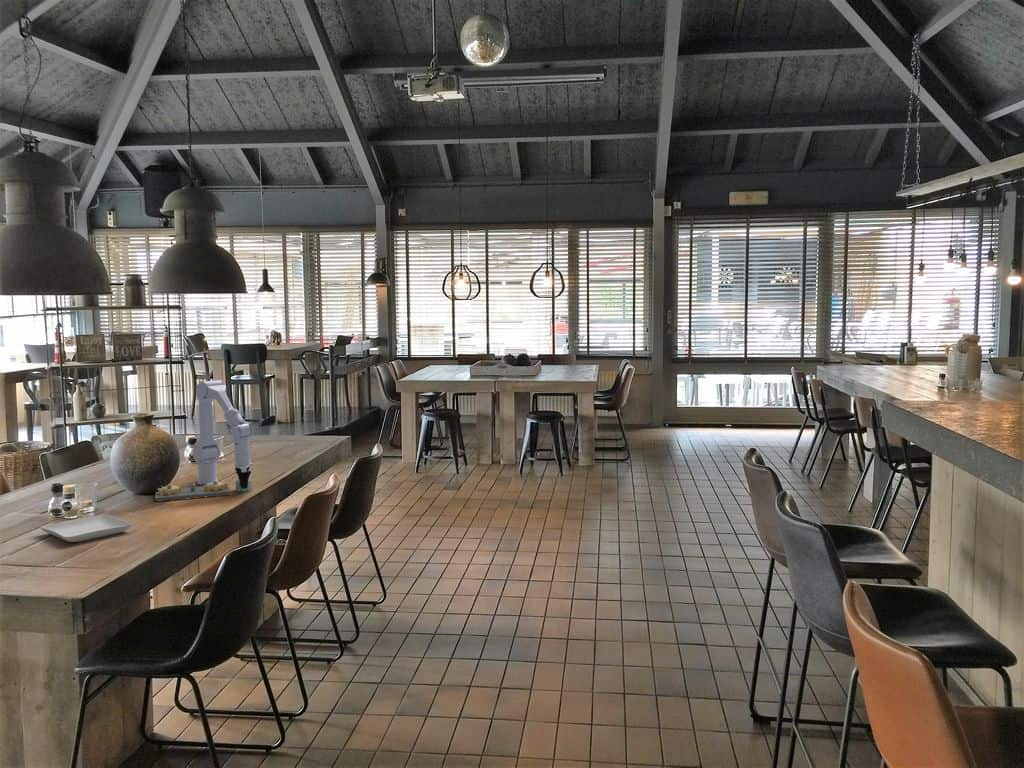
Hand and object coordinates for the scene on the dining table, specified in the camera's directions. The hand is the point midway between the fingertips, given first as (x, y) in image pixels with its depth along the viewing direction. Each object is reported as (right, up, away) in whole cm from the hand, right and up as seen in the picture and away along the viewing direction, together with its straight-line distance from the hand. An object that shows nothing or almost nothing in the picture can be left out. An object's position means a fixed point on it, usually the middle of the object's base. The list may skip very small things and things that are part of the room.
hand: (243, 486), depth 324 cm
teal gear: (0, -2, 0) cm, 2 cm away
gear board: (-18, -2, -7) cm, 19 cm away
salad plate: (-32, -8, -60) cm, 68 cm away
